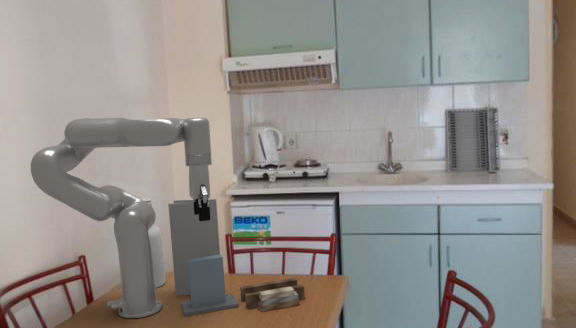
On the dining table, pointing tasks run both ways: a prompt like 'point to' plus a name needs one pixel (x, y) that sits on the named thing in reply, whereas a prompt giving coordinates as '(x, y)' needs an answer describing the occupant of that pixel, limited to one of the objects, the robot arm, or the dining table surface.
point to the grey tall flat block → (191, 239)
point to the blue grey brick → (206, 280)
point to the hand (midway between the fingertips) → (202, 217)
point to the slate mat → (209, 306)
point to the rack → (252, 291)
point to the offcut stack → (277, 299)
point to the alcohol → (156, 252)
